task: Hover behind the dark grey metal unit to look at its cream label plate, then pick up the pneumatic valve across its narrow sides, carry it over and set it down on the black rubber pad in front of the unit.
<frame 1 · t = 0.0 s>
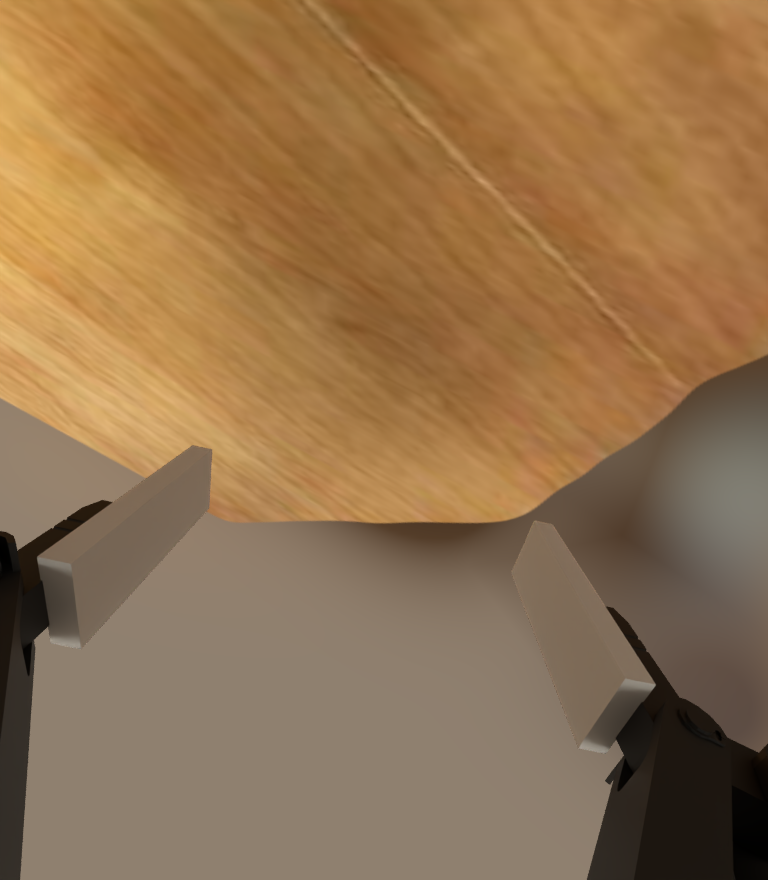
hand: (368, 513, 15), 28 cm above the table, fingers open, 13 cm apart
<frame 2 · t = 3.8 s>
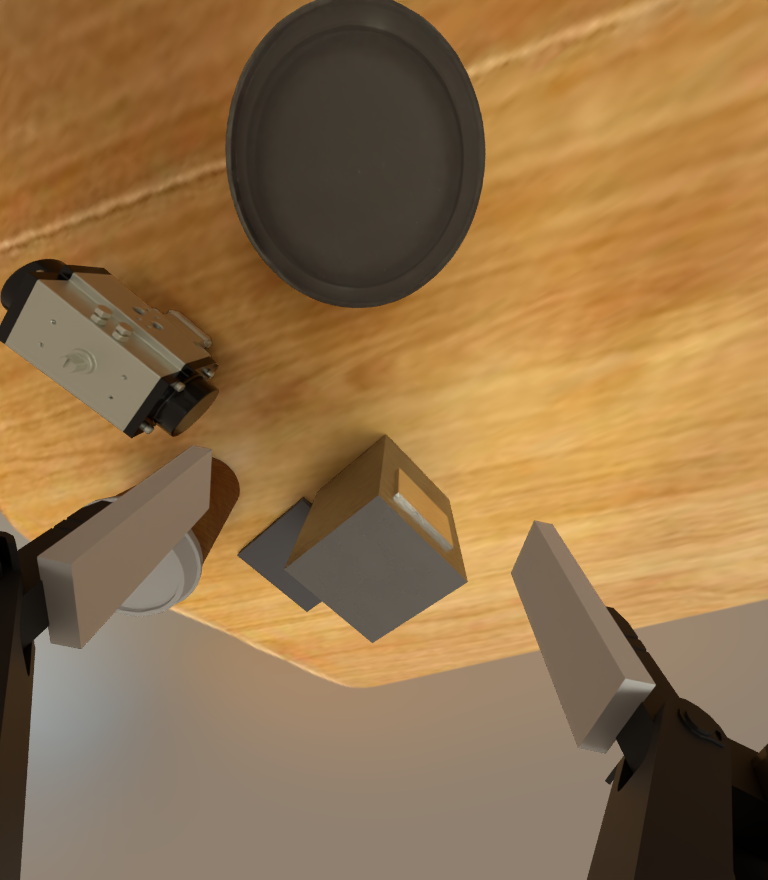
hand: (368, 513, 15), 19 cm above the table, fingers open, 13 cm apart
disposable coffee cup: (209, 484, 37), on the table
coffee can: (377, 229, 28), on the table
pad: (306, 556, 39), on the table
pneumatic valve: (190, 335, 31), on the table
unit: (383, 495, 36), on the table
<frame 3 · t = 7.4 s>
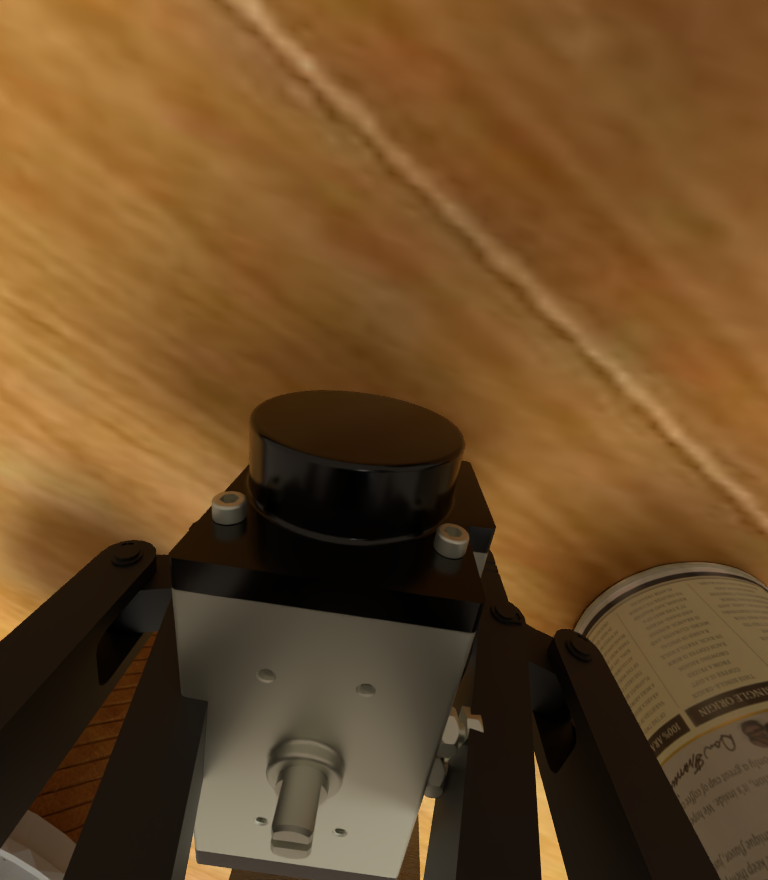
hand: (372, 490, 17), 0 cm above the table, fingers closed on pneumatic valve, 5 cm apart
disposable coffee cup: (157, 598, 21), on the table
coffee can: (666, 634, 20), on the table
pneumatic valve: (373, 484, 17), on the table, touching gripper
unit: (335, 771, 25), on the table
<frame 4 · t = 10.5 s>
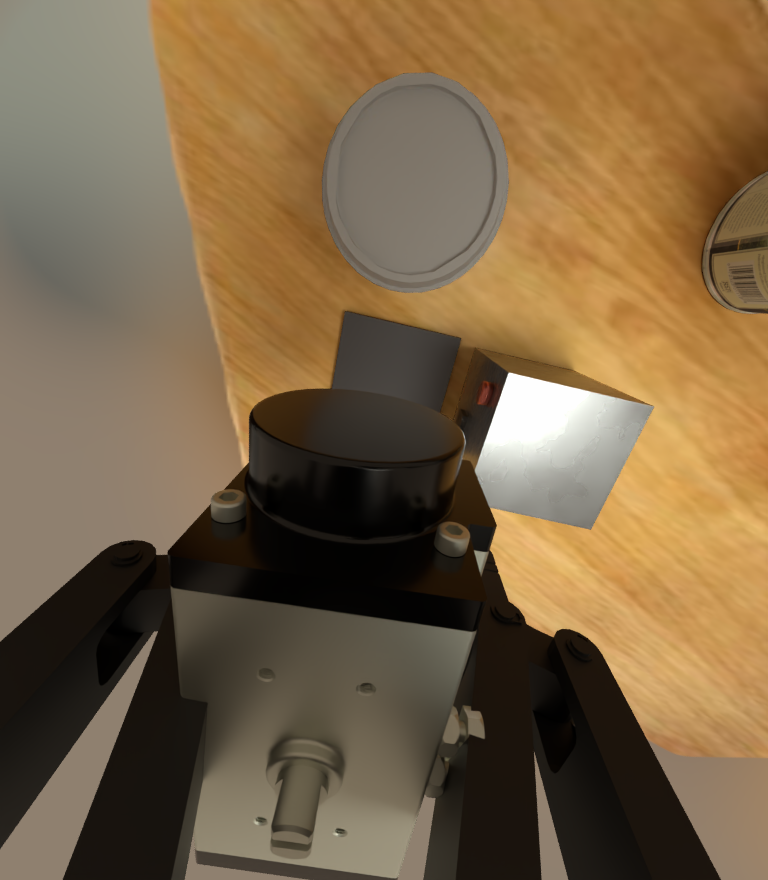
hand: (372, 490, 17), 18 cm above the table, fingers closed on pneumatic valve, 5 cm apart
disposable coffee cup: (410, 228, 29), on the table
pad: (390, 381, 34), on the table
pneumatic valve: (373, 484, 17), point 18 cm above the table, touching gripper
unit: (507, 408, 34), on the table
when the fingers open (3 cm above the table, at t = 14.0 s): pneumatic valve drops 2 cm, resting on pad.
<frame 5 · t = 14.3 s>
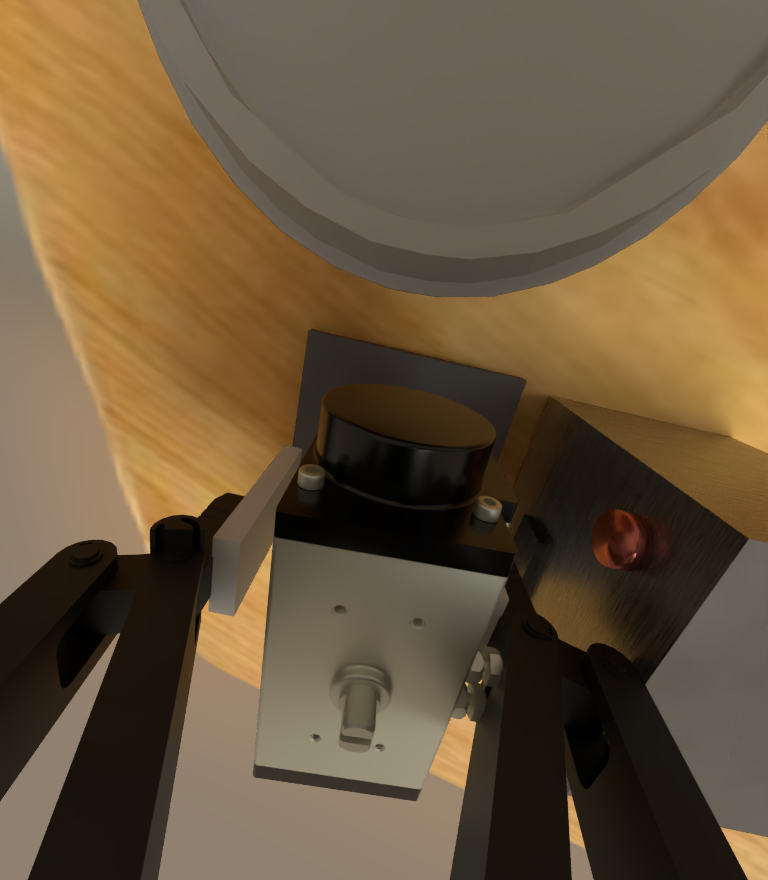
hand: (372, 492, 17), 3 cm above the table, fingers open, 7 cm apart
disposable coffee cup: (433, 167, 15), on the table
pad: (393, 450, 19), on the table
pneumatic valve: (389, 470, 19), resting on pad, touching gripper
unit: (601, 497, 19), on the table
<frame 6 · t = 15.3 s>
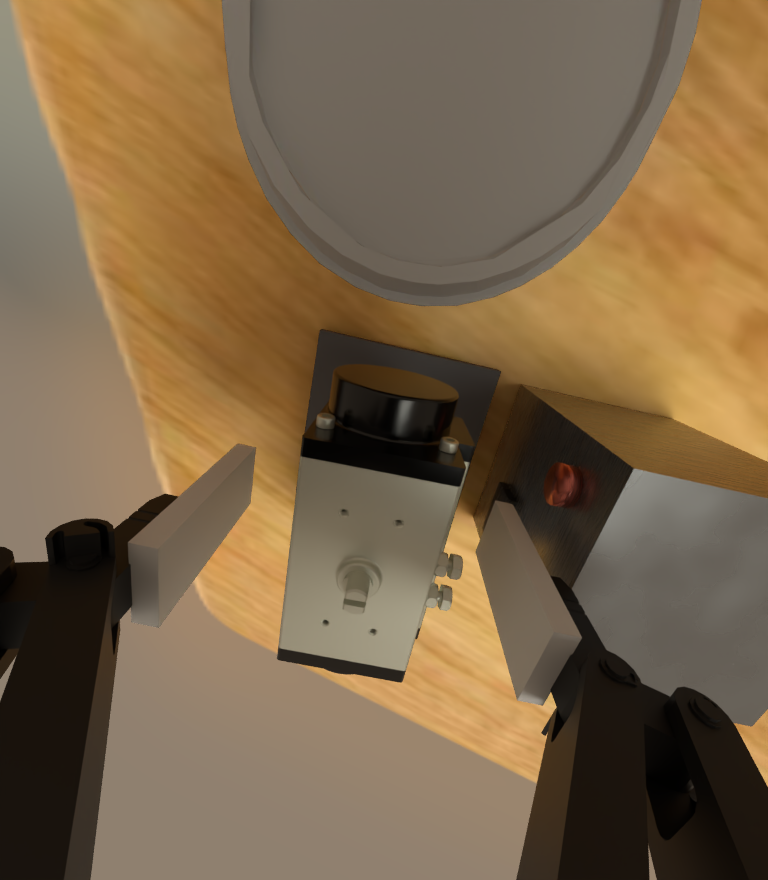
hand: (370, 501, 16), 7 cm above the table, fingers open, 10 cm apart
disposable coffee cup: (422, 197, 18), on the table
pad: (391, 432, 22), on the table
pneumatic valve: (387, 448, 22), resting on pad
unit: (566, 471, 23), on the table
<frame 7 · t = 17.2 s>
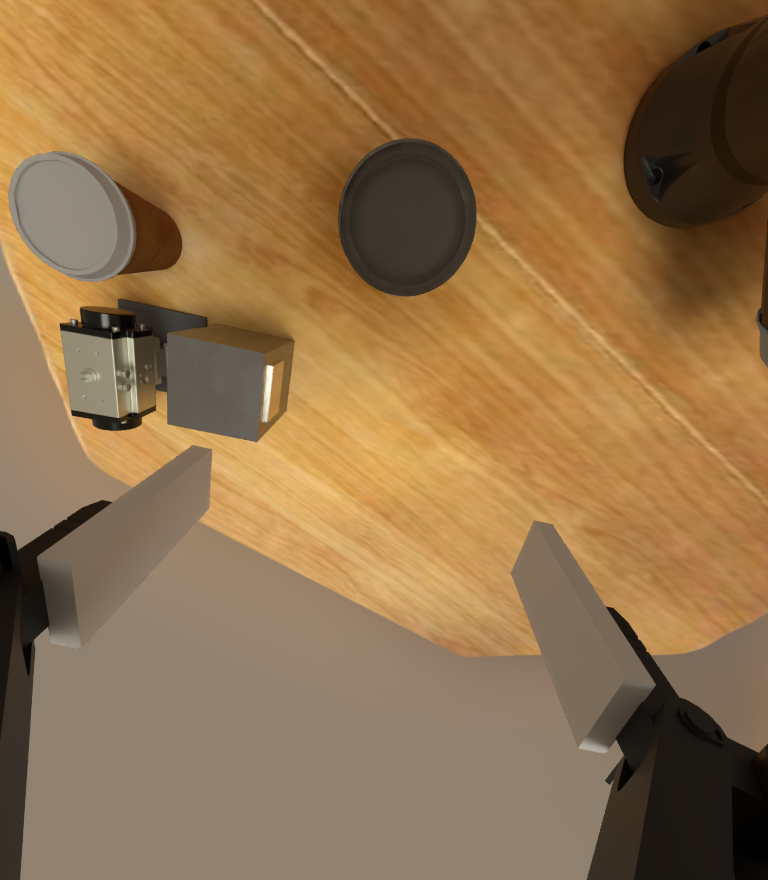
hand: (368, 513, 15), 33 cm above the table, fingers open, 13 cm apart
disposable coffee cup: (154, 239, 41), on the table
coffee can: (402, 246, 41), on the table
pad: (164, 350, 45), on the table
pneumatic valve: (163, 358, 45), resting on pad
unit: (254, 369, 46), on the table
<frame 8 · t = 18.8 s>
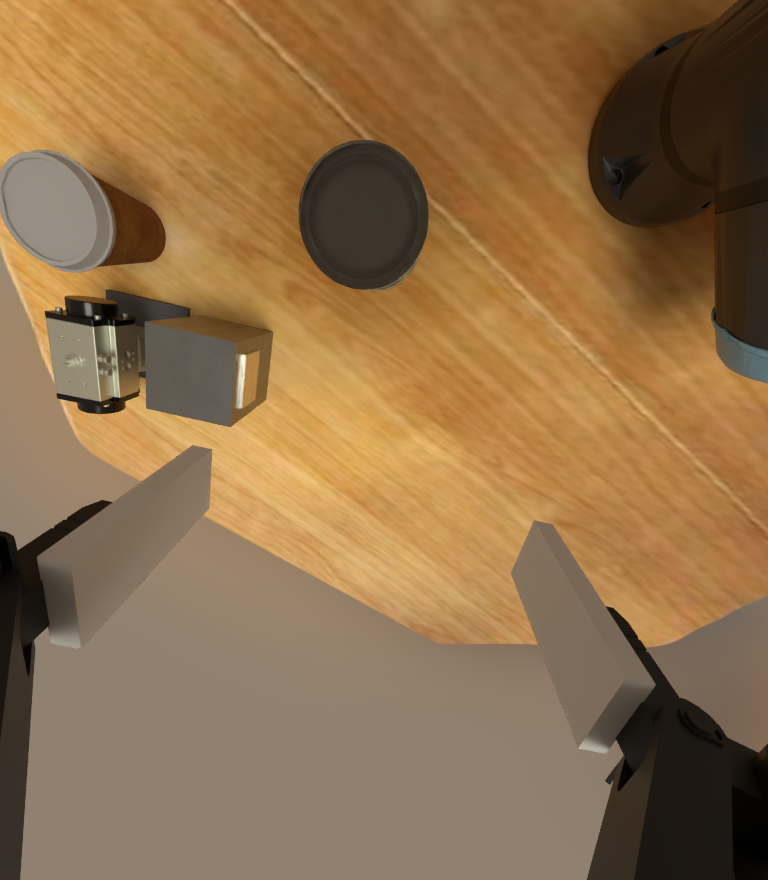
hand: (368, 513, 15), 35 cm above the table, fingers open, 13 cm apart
disposable coffee cup: (140, 232, 43), on the table
coffee can: (375, 242, 43), on the table
pad: (150, 339, 48), on the table
pneumatic valve: (148, 347, 48), resting on pad
unit: (235, 359, 48), on the table
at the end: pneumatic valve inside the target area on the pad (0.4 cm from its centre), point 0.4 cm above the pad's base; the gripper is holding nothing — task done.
